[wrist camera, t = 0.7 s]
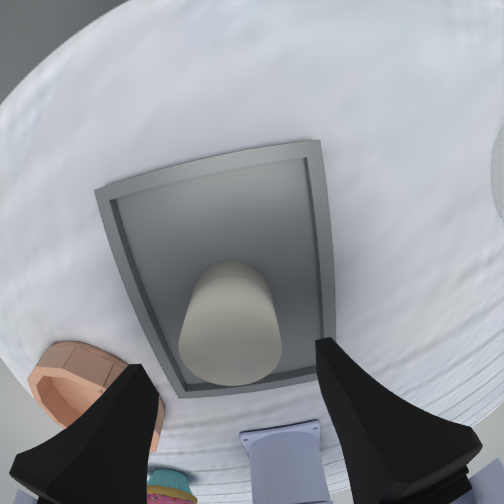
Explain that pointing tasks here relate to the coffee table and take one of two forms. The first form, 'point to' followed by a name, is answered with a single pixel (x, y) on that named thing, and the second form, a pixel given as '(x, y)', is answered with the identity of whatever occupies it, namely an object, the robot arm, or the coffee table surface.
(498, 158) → the grey white cylinder
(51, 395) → the terracotta bowl
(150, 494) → the cupcake
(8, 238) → the coffee table surface
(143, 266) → the parts tray
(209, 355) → the smooth grey cylinder
